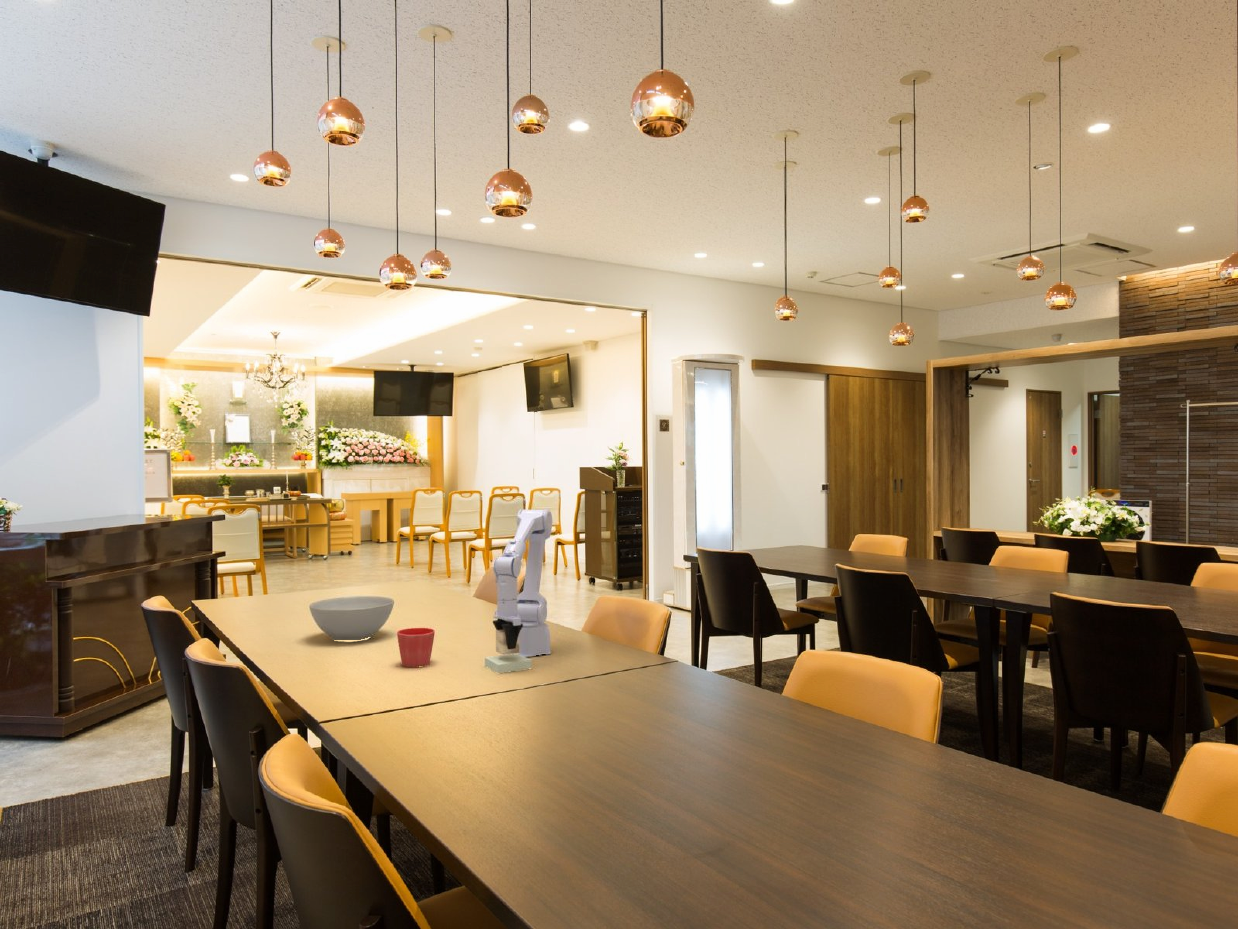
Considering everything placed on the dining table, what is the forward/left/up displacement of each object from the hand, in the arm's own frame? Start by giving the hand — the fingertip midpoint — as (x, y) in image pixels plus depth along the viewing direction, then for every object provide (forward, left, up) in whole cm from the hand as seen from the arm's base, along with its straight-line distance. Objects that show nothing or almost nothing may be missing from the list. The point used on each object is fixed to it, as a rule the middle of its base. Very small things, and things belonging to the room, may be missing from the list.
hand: (507, 646), depth 230 cm
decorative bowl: (+29, -64, -6) cm, 71 cm away
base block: (0, 0, -6) cm, 6 cm away
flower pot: (+21, -18, -6) cm, 28 cm away
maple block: (0, 0, -1) cm, 1 cm away
